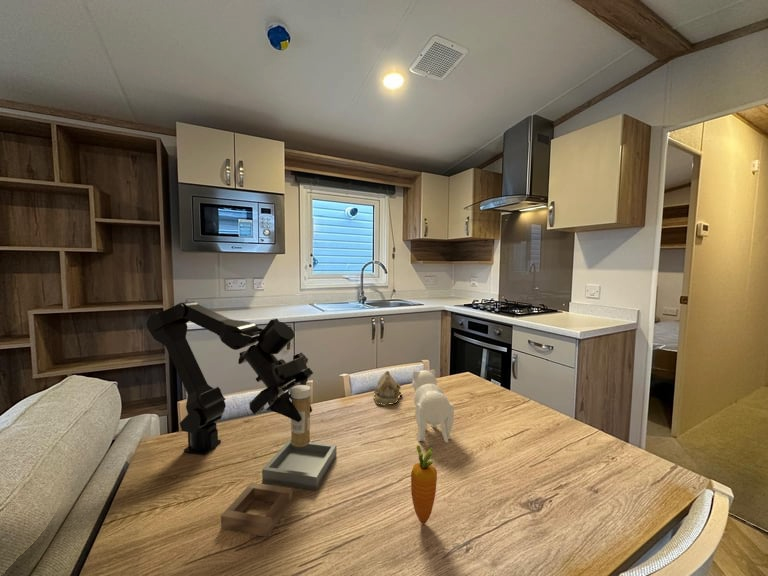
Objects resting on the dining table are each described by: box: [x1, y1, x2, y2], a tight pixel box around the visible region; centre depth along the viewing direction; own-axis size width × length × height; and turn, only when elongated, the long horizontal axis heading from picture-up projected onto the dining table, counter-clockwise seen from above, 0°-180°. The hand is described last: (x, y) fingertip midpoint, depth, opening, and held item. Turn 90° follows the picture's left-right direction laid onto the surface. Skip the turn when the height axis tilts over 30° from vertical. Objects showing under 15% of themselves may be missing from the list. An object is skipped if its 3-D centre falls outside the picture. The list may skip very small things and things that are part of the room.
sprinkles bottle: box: [290, 384, 312, 447], centre depth 77 cm, size 5×5×13 cm
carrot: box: [410, 444, 438, 525], centre depth 61 cm, size 5×5×15 cm
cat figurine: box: [408, 369, 455, 443], centre depth 94 cm, size 25×10×17 cm, turn 12°
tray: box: [261, 438, 337, 491], centre depth 78 cm, size 13×13×3 cm
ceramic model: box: [373, 371, 402, 404], centre depth 120 cm, size 14×11×10 cm
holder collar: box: [220, 482, 293, 538], centre depth 63 cm, size 10×10×2 cm
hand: (305, 416), depth 76 cm, fingers closed on sprinkles bottle, 4 cm apart
